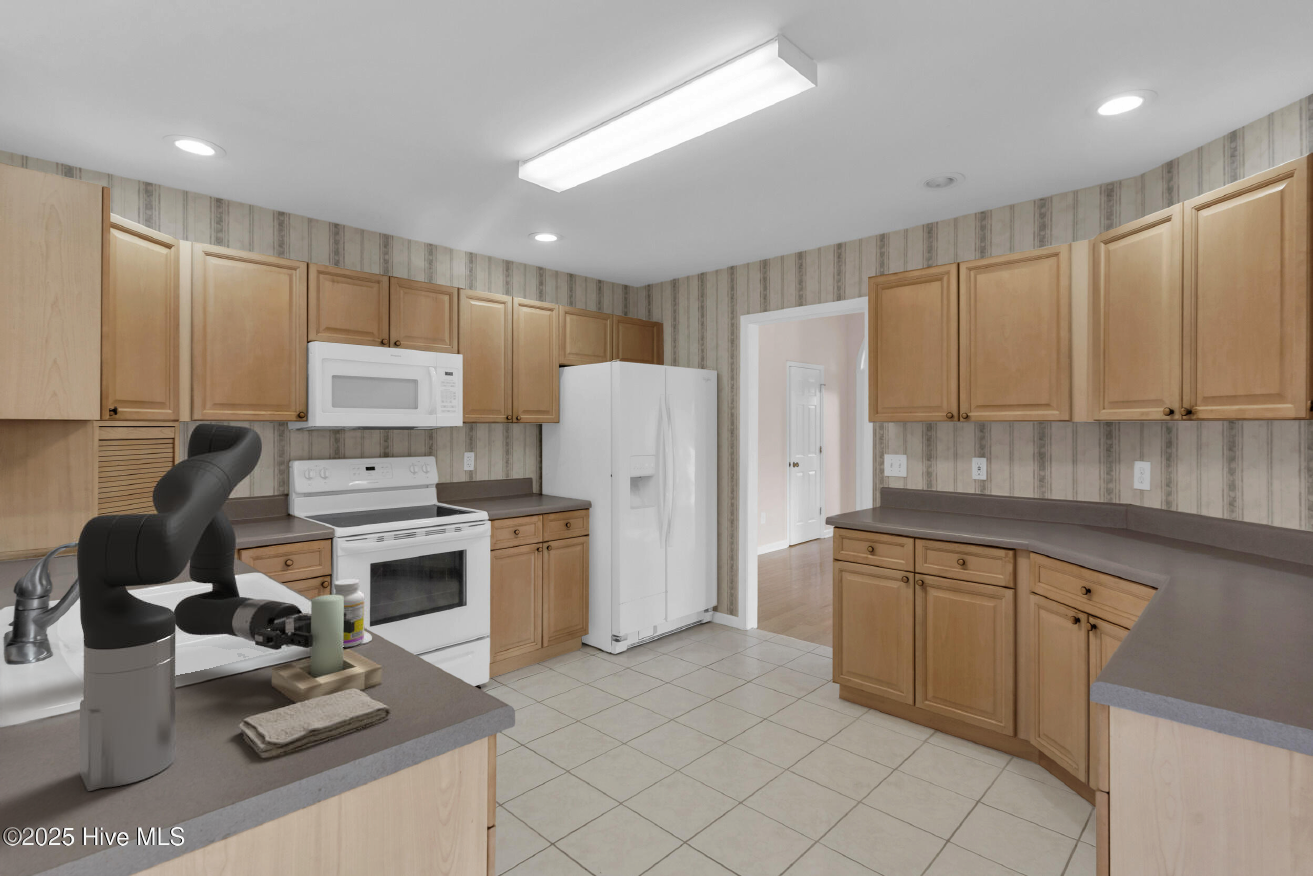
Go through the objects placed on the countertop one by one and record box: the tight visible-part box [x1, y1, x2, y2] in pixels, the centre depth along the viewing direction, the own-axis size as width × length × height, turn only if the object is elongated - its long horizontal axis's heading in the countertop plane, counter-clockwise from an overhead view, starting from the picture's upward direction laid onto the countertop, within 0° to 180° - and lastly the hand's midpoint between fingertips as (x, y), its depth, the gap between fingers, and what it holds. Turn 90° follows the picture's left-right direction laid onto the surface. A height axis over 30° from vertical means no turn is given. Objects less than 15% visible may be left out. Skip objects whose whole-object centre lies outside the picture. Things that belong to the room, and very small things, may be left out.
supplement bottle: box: [332, 578, 366, 648], centre depth 132 cm, size 7×7×13 cm
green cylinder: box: [310, 594, 344, 678], centre depth 111 cm, size 5×5×15 cm
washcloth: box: [238, 688, 392, 759], centre depth 96 cm, size 12×18×3 cm, turn 139°
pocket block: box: [271, 648, 383, 704], centre depth 111 cm, size 13×13×3 cm
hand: (332, 634), depth 110 cm, fingers open, 8 cm apart
